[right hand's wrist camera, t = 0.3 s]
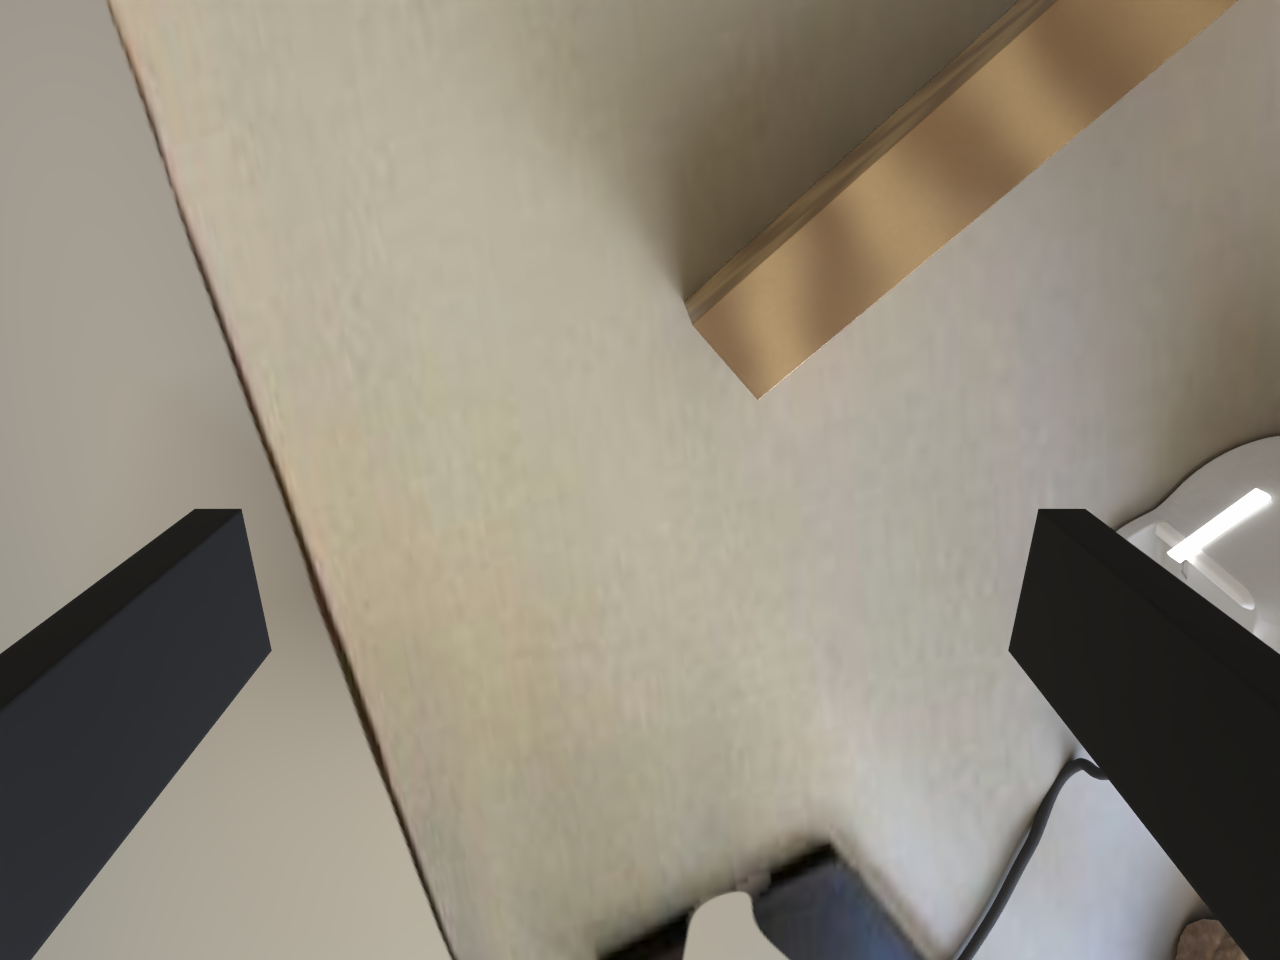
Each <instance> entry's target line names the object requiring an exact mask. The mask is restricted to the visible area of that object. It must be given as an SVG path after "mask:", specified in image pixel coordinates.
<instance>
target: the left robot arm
mask: <svg viewBox="0 0 1280 960" xmlns="http://www.w3.org/2000/svg"><path fill="white" fill-rule="evenodd" d="M1116 532H1117V533H1118V534H1119V535H1121V536H1122V537H1123V538H1125V539H1126V540H1127V541H1129V542H1130V543H1131V544H1133V545H1134V546H1135V547H1137V548H1138V549H1139V550H1141V551H1142V552H1144V553H1145V554H1146V555H1148V556H1149V557H1150V558H1152V559H1153V560H1154V561H1156V562H1157V563H1158V564H1160V565H1161V566H1162V567H1164V568H1165V569H1166V570H1168V571H1169V572H1170V573H1172V574H1173V575H1174V576H1176V577H1177V578H1178V579H1180V580H1181V581H1182V582H1184V583H1185V584H1186V585H1188V586H1189V587H1190V588H1192V589H1193V590H1194V591H1196V592H1197V593H1198V594H1200V595H1201V596H1203V597H1204V598H1205V599H1207V600H1208V601H1209V602H1211V603H1212V604H1213V605H1215V606H1216V607H1217V608H1219V609H1220V610H1221V611H1223V612H1224V613H1225V614H1227V615H1228V616H1229V617H1231V618H1232V619H1233V620H1235V621H1236V622H1237V623H1239V624H1240V625H1241V626H1243V627H1244V628H1245V629H1247V630H1248V631H1249V632H1251V633H1252V634H1253V635H1255V636H1256V637H1257V638H1259V639H1260V640H1262V641H1263V642H1264V643H1266V644H1267V645H1268V646H1270V647H1271V648H1272V649H1274V650H1275V651H1276V652H1278V653H1279V654H1280V436H1274V437H1269V438H1264V439H1260V440H1257V441H1253V442H1250V443H1247V444H1245V445H1242V446H1239V447H1237V448H1235V449H1232V450H1230V451H1228V452H1226V453H1224V454H1222V455H1221V456H1219V457H1217V458H1215V459H1214V460H1212V461H1210V462H1209V463H1207V464H1206V465H1204V466H1203V467H1202V468H1200V469H1199V470H1197V471H1196V472H1195V473H1194V474H1192V475H1191V476H1190V477H1189V478H1188V479H1187V480H1186V481H1184V482H1183V483H1182V484H1181V485H1180V486H1179V487H1178V488H1177V489H1176V490H1175V491H1174V492H1173V493H1172V494H1171V495H1170V496H1169V497H1168V498H1167V499H1166V500H1165V501H1164V502H1163V503H1162V504H1161V505H1160V506H1158V507H1157V508H1156V509H1154V510H1153V511H1151V512H1149V513H1147V514H1145V515H1143V516H1141V517H1139V518H1137V519H1135V520H1133V521H1131V522H1130V523H1128V524H1126V525H1124V526H1123V527H1121V528H1120V529H1119V530H1117V531H1116ZM1080 770H1084V771H1085V772H1087V773H1088V774H1089V775H1090V776H1092V777H1094V778H1097V779H1100V780H1109V779H1108V778H1107V777H1106V775H1105V774H1104V773H1103V771H1102V770H1101V769H1100V768H1098V767H1097V766H1096V765H1094V764H1093V763H1092V762H1090V761H1089V760H1086V759H1083V758H1078V759H1076V760H1074V761H1072V762H1070V763H1067V764H1066V765H1065V766H1064V768H1063V769H1062V770H1061V771H1060V773H1059V775H1058V776H1057V778H1056V780H1055V782H1054V783H1053V785H1052V787H1051V788H1050V790H1049V791H1048V793H1047V795H1046V796H1045V798H1044V799H1043V801H1042V804H1041V806H1040V808H1039V810H1038V812H1037V815H1036V818H1035V821H1034V823H1033V826H1032V828H1031V831H1030V833H1029V835H1028V838H1027V840H1026V842H1025V844H1024V845H1023V847H1022V849H1021V851H1020V853H1019V854H1018V856H1017V858H1016V860H1015V862H1014V864H1013V866H1012V868H1011V870H1010V872H1009V874H1008V875H1007V877H1006V879H1005V881H1004V883H1003V885H1002V887H1001V889H1000V891H999V893H998V895H997V897H996V899H995V901H994V903H993V904H992V906H991V908H990V910H989V911H988V913H987V915H986V917H985V918H984V920H983V921H982V923H981V925H980V926H979V928H978V929H977V931H976V932H975V934H974V936H973V937H972V939H971V940H970V942H969V943H968V945H967V946H966V948H965V949H964V951H963V952H962V954H961V955H960V957H959V958H958V959H957V960H972V958H973V957H974V955H975V954H976V952H977V951H978V950H979V948H980V946H981V945H982V943H983V942H984V940H985V939H986V937H987V936H988V934H989V933H990V931H991V929H992V928H993V926H994V925H995V923H996V921H997V920H998V918H999V916H1000V915H1001V913H1002V911H1003V909H1004V907H1005V906H1006V904H1007V902H1008V900H1009V898H1010V896H1011V894H1012V892H1013V890H1014V888H1015V886H1016V885H1017V883H1018V881H1019V879H1020V877H1021V875H1022V873H1023V871H1024V869H1025V867H1026V866H1027V864H1028V862H1029V860H1030V858H1031V857H1032V855H1033V853H1034V851H1035V849H1036V847H1037V845H1038V843H1039V841H1040V839H1041V837H1042V834H1043V832H1044V829H1045V826H1046V824H1047V821H1048V818H1049V815H1050V813H1051V810H1052V807H1053V805H1054V802H1055V800H1056V798H1057V795H1058V793H1059V792H1060V790H1061V788H1062V786H1063V785H1064V783H1065V782H1066V781H1067V780H1068V779H1069V778H1070V777H1071V776H1072V775H1073V774H1075V773H1076V772H1078V771H1080Z"/></svg>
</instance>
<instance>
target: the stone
mask: <svg viewBox="0 0 1280 960" xmlns="http://www.w3.org/2000/svg"><path fill="white" fill-rule="evenodd" d="M1175 960H1249V959H1248V958H1247V956H1246V955H1245V954H1244V953H1243V951H1242V950H1241V949H1240V947H1239V946H1238V945H1237V944H1236V942H1235V941H1234V940H1233V938H1232V937H1231V936H1230V935H1229V933H1228V932H1227V931H1226V929H1225V928H1224V927H1223V926H1222V924H1221V923H1220V922H1219V921H1218V920H1208V919H1201V920H1199V921H1196V922H1193V923H1191V924H1188V925H1187V926H1186V927H1185V929H1184V931H1183V932H1182V934H1181V936H1180V941H1179V943H1178V946H1177V955H1176V957H1175Z"/></svg>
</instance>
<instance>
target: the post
mask: <svg viewBox="0 0 1280 960" xmlns="http://www.w3.org/2000/svg"><path fill="white" fill-rule="evenodd" d="M1237 1H1238V0H1019V1H1018V2H1017V3H1016V4H1015V5H1014V6H1013V7H1012V8H1011V9H1009V10H1008V11H1007V12H1006V13H1005V14H1004V15H1003V16H1002V17H1001V18H999V19H998V20H997V21H996V22H995V23H994V24H993V25H992V26H991V27H989V28H988V29H987V30H986V31H985V32H984V33H983V34H982V35H980V36H979V37H978V38H977V39H976V40H975V41H974V42H973V43H972V44H970V45H969V46H968V47H967V48H966V49H965V50H964V51H963V52H962V53H960V54H959V55H958V56H957V57H956V58H955V59H954V60H953V61H952V62H950V63H949V64H948V65H947V66H946V67H945V68H944V69H943V70H942V71H940V72H939V73H938V74H937V75H936V76H935V77H934V78H933V79H932V80H930V81H929V82H928V83H927V84H926V85H925V86H924V87H923V88H922V89H920V90H919V91H918V92H917V93H916V94H915V95H914V96H913V97H912V98H910V99H909V100H908V101H907V102H906V103H905V104H904V105H903V106H902V107H900V108H899V109H898V110H897V111H896V112H895V113H894V114H893V115H892V116H890V117H889V118H888V119H887V120H886V121H885V122H884V123H883V124H882V125H880V126H879V127H878V128H877V129H876V130H875V131H874V132H873V133H872V134H870V135H869V136H868V137H867V138H866V139H865V140H864V141H863V142H862V143H860V144H859V145H858V146H857V147H856V148H855V149H854V150H853V151H852V152H850V153H849V154H848V155H847V156H846V157H845V158H844V159H843V160H842V161H840V162H839V163H838V164H837V165H836V166H835V167H834V168H833V169H832V170H830V171H829V172H828V173H827V174H826V175H825V176H824V177H823V178H822V179H820V180H819V181H818V182H817V183H816V184H815V185H814V186H813V187H811V188H810V189H809V190H808V191H807V192H806V193H805V194H804V195H803V196H801V197H800V198H799V199H798V200H797V201H796V202H795V203H794V204H793V205H791V206H790V207H789V208H788V209H787V210H786V211H785V212H784V213H783V214H781V215H780V216H779V217H778V218H777V219H776V220H775V221H774V222H773V223H771V224H770V225H769V226H768V227H767V228H766V229H765V230H764V231H763V232H761V233H760V234H759V235H758V236H757V237H756V238H755V239H754V240H753V241H751V242H750V243H749V244H748V245H747V246H746V247H745V248H744V249H743V250H741V251H740V252H739V253H738V254H737V255H736V256H735V257H734V258H733V259H731V260H730V261H729V262H728V263H727V264H726V265H725V266H724V267H723V268H721V269H720V270H719V271H718V272H717V273H716V274H715V275H714V276H713V277H711V278H710V279H709V280H708V281H707V282H706V283H705V284H704V285H703V286H701V287H700V288H699V289H698V290H697V291H696V292H695V293H694V294H693V295H691V296H690V297H689V298H688V299H687V300H686V301H685V302H684V304H685V307H686V309H687V312H688V314H689V317H690V320H691V322H692V325H693V326H694V327H695V328H696V329H697V331H698V332H699V333H700V334H701V335H702V336H703V338H704V339H705V340H706V341H707V342H708V343H709V344H710V346H711V347H712V348H713V349H714V350H715V351H716V352H717V354H718V355H719V356H720V357H721V358H722V359H723V361H724V362H725V363H726V364H727V365H728V366H729V367H730V369H731V370H732V371H733V372H734V373H735V374H736V375H737V377H738V378H739V379H740V380H741V381H742V382H743V384H744V385H745V386H746V387H747V388H748V389H749V390H750V392H751V393H752V394H753V395H754V396H755V397H756V398H757V400H759V399H760V398H762V397H763V396H764V395H765V394H766V393H768V392H769V391H770V390H771V389H772V388H774V387H775V386H776V385H777V384H778V383H780V382H781V381H782V380H783V379H784V378H786V377H787V376H788V375H789V374H790V373H792V372H793V371H794V370H795V369H796V368H798V367H799V366H800V365H801V364H802V363H804V362H805V361H806V360H807V359H808V358H810V357H811V356H812V355H813V354H814V353H816V352H817V351H818V350H819V349H820V348H822V347H823V346H824V345H825V344H826V343H828V342H829V341H830V340H831V339H832V338H834V337H835V336H836V335H837V334H838V333H840V332H841V331H842V330H843V329H844V328H846V327H847V326H848V325H849V324H850V323H852V322H853V321H854V320H855V319H856V318H858V317H859V316H860V315H861V314H862V313H864V312H865V311H866V310H867V309H868V308H870V307H871V306H872V305H873V304H874V303H876V302H877V301H878V300H879V299H880V298H882V297H883V296H884V295H885V294H886V293H888V292H889V291H890V290H891V289H892V288H894V287H895V286H896V285H897V284H898V283H900V282H901V281H902V280H903V279H904V278H906V277H907V276H908V275H909V274H910V273H912V272H913V271H914V270H915V269H916V268H918V267H919V266H920V265H921V264H922V263H924V262H925V261H926V260H927V259H928V258H930V257H931V256H932V255H933V254H934V253H936V252H937V251H938V250H939V249H940V248H942V247H943V246H944V245H945V244H947V243H948V242H949V241H950V240H951V239H953V238H954V237H955V236H956V235H957V234H959V233H960V232H961V231H962V230H963V229H965V228H966V227H967V226H968V225H969V224H971V223H972V222H973V221H974V220H975V219H977V218H978V217H979V216H980V215H981V214H983V213H984V212H985V211H986V210H987V209H989V208H990V207H991V206H992V205H993V204H995V203H996V202H997V201H998V200H999V199H1001V198H1002V197H1003V196H1004V195H1005V194H1007V193H1008V192H1009V191H1010V190H1011V189H1013V188H1014V187H1015V186H1016V185H1017V184H1019V183H1020V182H1021V181H1022V180H1023V179H1025V178H1026V177H1027V176H1028V175H1029V174H1031V173H1032V172H1033V171H1034V170H1035V169H1037V168H1038V167H1039V166H1040V165H1041V164H1043V163H1044V162H1045V161H1046V160H1047V159H1049V158H1050V157H1051V156H1052V155H1053V154H1055V153H1056V152H1057V151H1058V150H1059V149H1061V148H1062V147H1063V146H1064V145H1065V144H1067V143H1068V142H1069V141H1070V140H1071V139H1073V138H1074V137H1075V136H1076V135H1077V134H1079V133H1080V132H1081V131H1082V130H1083V129H1085V128H1086V127H1087V126H1088V125H1089V124H1091V123H1092V122H1093V121H1094V120H1095V119H1097V118H1098V117H1099V116H1100V115H1101V114H1103V113H1104V112H1105V111H1106V110H1107V109H1109V108H1110V107H1111V106H1112V105H1113V104H1115V103H1116V102H1117V101H1118V100H1119V99H1121V98H1122V97H1123V96H1124V95H1125V94H1127V93H1128V92H1129V91H1130V90H1131V89H1133V88H1134V87H1135V86H1136V85H1137V84H1139V83H1140V82H1141V81H1142V80H1143V79H1145V78H1146V77H1147V76H1148V75H1149V74H1151V73H1152V72H1153V71H1154V70H1155V69H1157V68H1158V67H1159V66H1160V65H1161V64H1163V63H1164V62H1165V61H1166V60H1167V59H1169V58H1170V57H1171V56H1172V55H1173V54H1175V53H1176V52H1177V51H1178V50H1179V49H1181V48H1182V47H1183V46H1184V45H1185V44H1187V43H1188V42H1189V41H1190V40H1191V39H1193V38H1194V37H1195V36H1196V35H1197V34H1199V33H1200V32H1201V31H1202V30H1203V29H1205V28H1206V27H1207V26H1208V25H1209V24H1211V23H1212V22H1213V21H1214V20H1215V19H1217V18H1218V17H1219V16H1220V15H1221V14H1223V13H1224V12H1225V11H1226V10H1227V9H1229V8H1230V7H1231V6H1232V5H1233V4H1235V3H1236V2H1237Z"/></svg>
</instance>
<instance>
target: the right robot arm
mask: <svg viewBox="0 0 1280 960" xmlns="http://www.w3.org/2000/svg"><path fill="white" fill-rule="evenodd" d="M1008 651H1009V652H1010V653H1011V654H1012V656H1013V657H1014V658H1015V660H1016V661H1017V662H1018V663H1019V665H1020V666H1021V667H1022V669H1023V670H1024V671H1025V672H1026V674H1027V675H1028V676H1029V678H1030V679H1031V680H1032V681H1033V683H1034V684H1035V685H1036V687H1037V688H1038V689H1039V690H1040V692H1041V693H1042V694H1043V696H1044V697H1045V698H1046V699H1047V701H1048V702H1049V703H1050V705H1051V706H1052V707H1053V708H1054V710H1055V711H1056V712H1057V714H1058V715H1059V716H1060V717H1061V719H1062V720H1063V721H1064V723H1065V724H1066V725H1067V726H1068V728H1069V729H1070V730H1071V732H1072V733H1073V734H1074V735H1075V737H1076V738H1077V739H1078V741H1079V742H1080V743H1081V744H1082V746H1083V747H1084V748H1085V750H1086V751H1087V752H1088V753H1089V755H1090V756H1091V757H1092V759H1093V760H1094V761H1095V762H1096V764H1097V765H1098V766H1099V768H1100V769H1101V770H1102V771H1103V773H1104V774H1105V775H1106V777H1107V778H1108V779H1109V780H1110V782H1111V783H1112V784H1113V786H1114V787H1115V788H1116V789H1117V791H1118V792H1119V793H1120V795H1121V796H1122V797H1123V798H1124V800H1125V801H1126V802H1127V804H1128V805H1129V806H1130V807H1131V809H1132V810H1133V811H1134V813H1135V814H1136V815H1137V816H1138V818H1139V819H1140V820H1141V822H1142V823H1143V824H1144V825H1145V827H1146V828H1147V829H1148V831H1149V832H1150V833H1151V834H1152V836H1153V837H1154V838H1155V840H1156V841H1157V842H1158V843H1159V845H1160V846H1161V847H1162V849H1163V850H1164V851H1165V852H1166V854H1167V855H1168V856H1169V858H1170V859H1171V860H1172V861H1173V863H1174V864H1175V865H1176V867H1177V868H1178V869H1179V870H1180V872H1181V873H1182V874H1183V876H1184V877H1185V878H1186V879H1187V881H1188V882H1189V883H1190V885H1191V886H1192V887H1193V888H1194V890H1195V891H1196V892H1197V894H1198V895H1199V896H1200V897H1201V899H1202V900H1203V901H1204V903H1205V904H1206V905H1207V906H1208V908H1209V909H1210V910H1211V912H1212V913H1213V914H1214V915H1215V917H1216V918H1217V919H1218V920H1219V922H1220V923H1221V924H1222V926H1223V927H1224V928H1225V929H1226V931H1227V932H1228V933H1229V935H1230V936H1231V937H1232V938H1233V940H1234V941H1235V942H1236V944H1237V945H1238V946H1239V947H1240V949H1241V950H1242V951H1243V953H1244V954H1245V955H1246V956H1247V958H1248V959H1249V960H1280V654H1279V653H1278V652H1276V651H1275V650H1274V649H1272V648H1271V647H1270V646H1268V645H1267V644H1266V643H1264V642H1263V641H1262V640H1260V639H1259V638H1257V637H1256V636H1255V635H1253V634H1252V633H1251V632H1249V631H1248V630H1247V629H1245V628H1244V627H1243V626H1241V625H1240V624H1239V623H1237V622H1236V621H1235V620H1233V619H1232V618H1231V617H1229V616H1228V615H1227V614H1225V613H1224V612H1223V611H1221V610H1220V609H1219V608H1217V607H1216V606H1215V605H1213V604H1212V603H1211V602H1209V601H1208V600H1207V599H1205V598H1204V597H1203V596H1201V595H1200V594H1198V593H1197V592H1196V591H1194V590H1193V589H1192V588H1190V587H1189V586H1188V585H1186V584H1185V583H1184V582H1182V581H1181V580H1180V579H1178V578H1177V577H1176V576H1174V575H1173V574H1172V573H1170V572H1169V571H1168V570H1166V569H1165V568H1164V567H1162V566H1161V565H1160V564H1158V563H1157V562H1156V561H1154V560H1153V559H1152V558H1150V557H1149V556H1148V555H1146V554H1145V553H1144V552H1142V551H1141V550H1139V549H1138V548H1137V547H1135V546H1134V545H1133V544H1131V543H1130V542H1129V541H1127V540H1126V539H1125V538H1123V537H1122V536H1121V535H1119V534H1118V533H1117V532H1115V531H1114V530H1113V529H1111V528H1110V527H1109V526H1107V525H1106V524H1105V523H1103V522H1102V521H1101V520H1099V519H1098V518H1097V517H1095V516H1094V515H1093V514H1091V513H1090V512H1089V511H1087V510H1086V509H1038V514H1037V519H1036V523H1035V528H1034V533H1033V538H1032V542H1031V547H1030V552H1029V556H1028V561H1027V566H1026V570H1025V575H1024V580H1023V585H1022V589H1021V594H1020V599H1019V603H1018V608H1017V613H1016V617H1015V622H1014V627H1013V632H1012V636H1011V641H1010V646H1009V650H1008ZM270 652H271V646H270V641H269V636H268V632H267V627H266V622H265V617H264V613H263V608H262V604H261V599H260V594H259V589H258V585H257V580H256V575H255V571H254V566H253V561H252V556H251V552H250V547H249V542H248V538H247V533H246V528H245V523H244V519H243V514H242V510H241V509H194V510H193V511H192V512H190V513H189V514H188V515H186V516H185V517H183V518H182V519H181V520H179V521H178V522H177V523H175V524H174V525H173V526H171V527H170V528H169V529H167V530H166V531H165V532H163V533H162V534H161V535H159V536H158V537H157V538H155V539H154V540H153V541H151V542H150V543H149V544H147V545H146V546H145V547H143V548H142V549H141V550H139V551H138V552H137V553H135V554H134V555H133V556H131V557H130V558H128V559H127V560H126V561H124V562H123V563H122V564H120V565H119V566H118V567H116V568H115V569H114V570H112V571H111V572H110V573H108V574H107V575H106V576H104V577H103V578H102V579H100V580H99V581H98V582H96V583H95V584H94V585H92V586H91V587H90V588H88V589H87V590H86V591H84V592H83V593H82V594H80V595H79V596H78V597H76V598H75V599H73V600H72V601H71V602H69V603H68V604H67V605H65V606H64V607H63V608H61V609H60V610H59V611H57V612H56V613H55V614H53V615H52V616H51V617H49V618H48V619H47V620H45V621H44V622H43V623H41V624H40V625H39V626H37V627H36V628H35V629H33V630H32V631H31V632H29V633H28V634H27V635H25V636H24V637H23V638H21V639H20V640H19V641H17V642H16V643H15V644H13V645H12V646H10V647H9V648H8V649H6V650H5V651H4V652H2V653H1V654H0V960H31V959H32V958H33V956H34V955H35V954H36V953H37V951H38V950H39V949H40V947H41V946H42V945H43V944H44V942H45V941H46V940H47V938H48V937H49V936H50V935H51V933H52V932H53V931H54V929H55V928H56V927H57V926H58V924H59V923H60V922H61V920H62V919H63V918H64V917H65V915H66V914H67V913H68V911H69V910H70V909H71V908H72V906H73V905H74V904H75V903H76V901H77V900H78V899H79V897H80V896H81V895H82V893H83V892H84V891H85V890H86V888H87V887H88V886H89V884H90V883H91V882H92V881H93V879H94V878H95V877H96V876H97V874H98V873H99V872H100V870H101V869H102V868H103V867H104V865H105V864H106V863H107V861H108V860H109V859H110V858H111V856H112V855H113V854H114V852H115V851H116V850H117V848H118V847H119V846H120V845H121V843H122V842H123V841H124V840H125V838H126V837H127V836H128V834H129V833H130V832H131V830H132V829H133V828H134V827H135V825H136V824H137V823H138V821H139V820H140V819H141V818H142V816H143V815H144V814H145V813H146V811H147V810H148V809H149V807H150V806H151V805H152V804H153V802H154V801H155V800H156V798H157V797H158V796H159V795H160V793H161V792H162V791H163V789H164V788H165V787H166V786H167V784H168V783H169V782H170V780H171V779H172V778H173V777H174V775H175V774H176V773H177V771H178V770H179V769H180V768H181V766H182V765H183V764H184V762H185V761H186V760H187V759H188V757H189V756H190V755H191V753H192V752H193V751H194V750H195V748H196V747H197V746H198V744H199V743H200V742H201V741H202V739H203V738H204V737H205V735H206V734H207V733H208V732H209V730H210V729H211V728H212V726H213V725H214V724H215V723H216V721H217V720H218V719H219V717H220V716H221V715H222V714H223V712H224V711H225V710H226V708H227V707H228V706H229V705H230V703H231V702H232V701H233V699H234V698H235V697H236V696H237V694H238V693H239V692H240V690H241V689H242V688H243V687H244V685H245V684H246V683H247V681H248V680H249V679H250V678H251V676H252V675H253V674H254V672H255V671H256V670H257V669H258V667H259V666H260V665H261V663H262V662H263V661H264V660H265V658H266V657H267V656H268V654H269V653H270Z"/></svg>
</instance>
